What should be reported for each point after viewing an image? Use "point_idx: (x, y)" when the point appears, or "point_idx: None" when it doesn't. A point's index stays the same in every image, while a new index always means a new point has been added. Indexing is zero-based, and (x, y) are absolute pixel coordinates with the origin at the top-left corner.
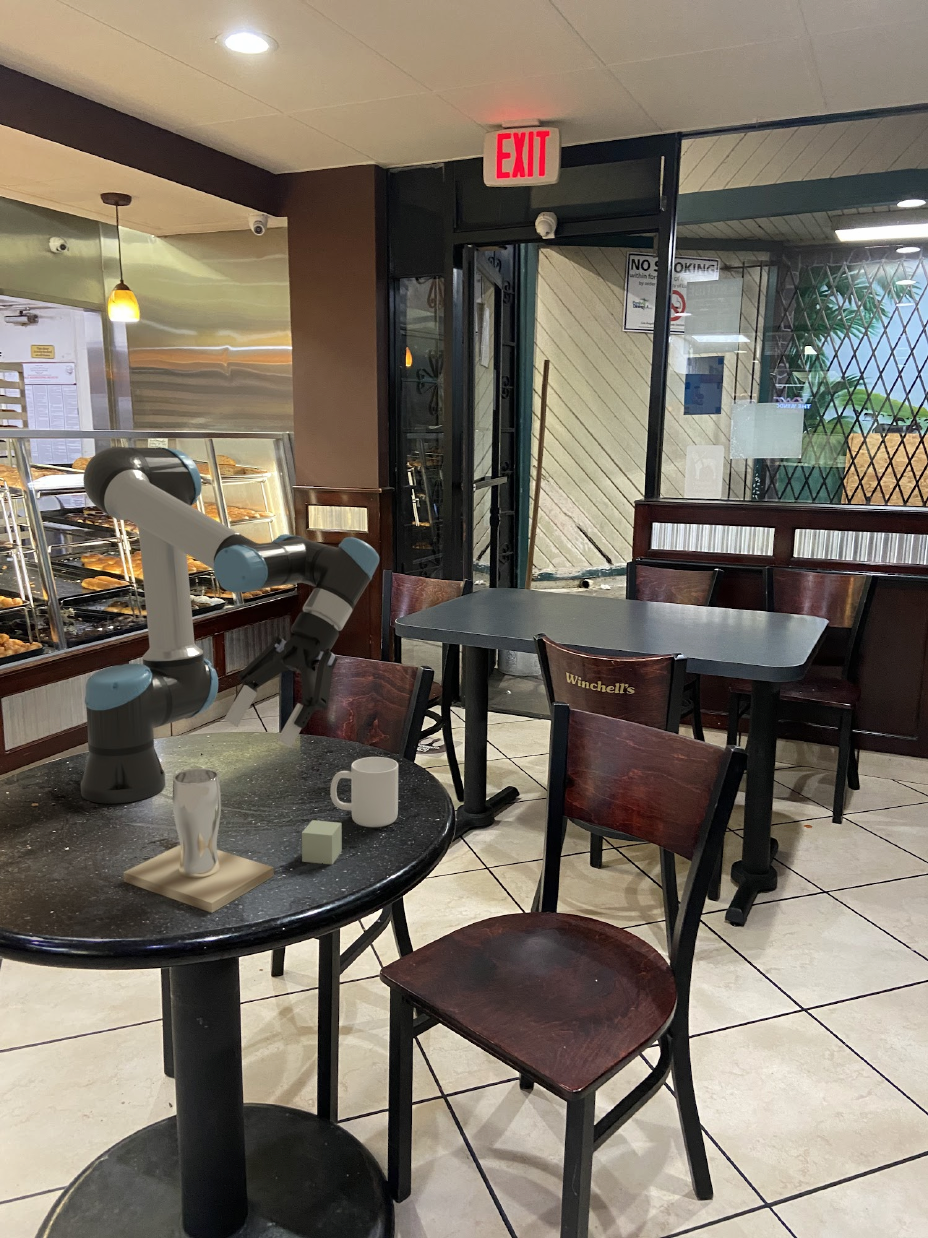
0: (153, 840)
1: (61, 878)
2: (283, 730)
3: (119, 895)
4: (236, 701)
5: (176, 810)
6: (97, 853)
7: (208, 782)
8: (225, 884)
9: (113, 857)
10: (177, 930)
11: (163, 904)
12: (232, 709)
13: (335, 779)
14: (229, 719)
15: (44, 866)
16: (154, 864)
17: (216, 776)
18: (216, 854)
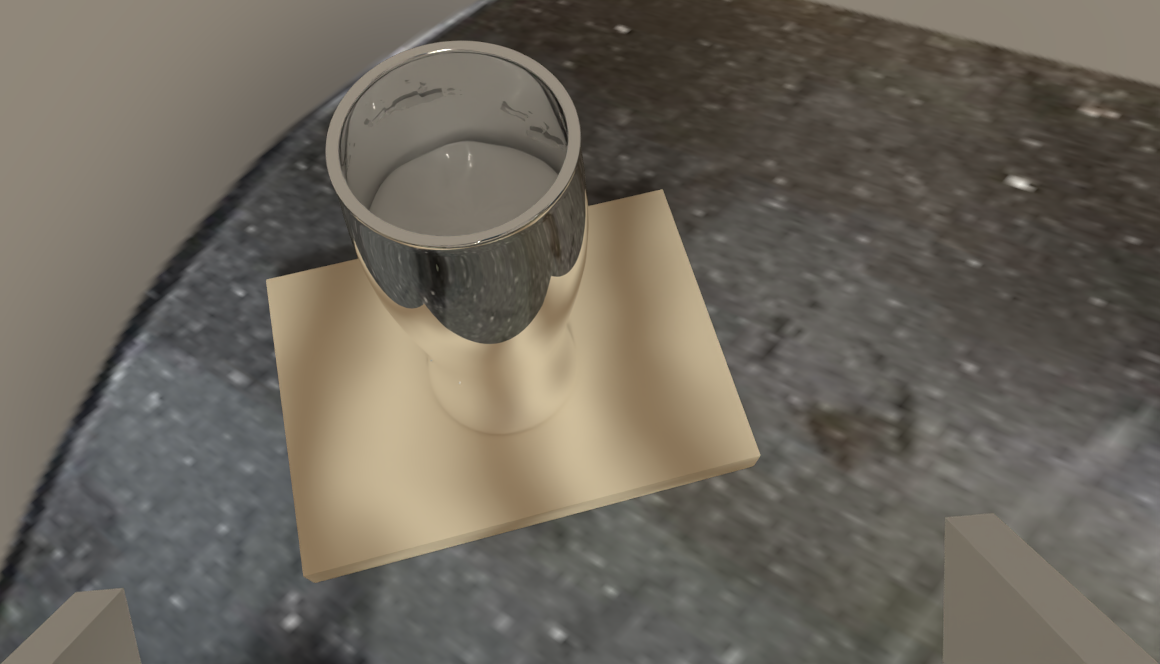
0: (920, 410)
1: (804, 102)
2: (43, 653)
3: (585, 167)
4: (1096, 645)
5: (473, 136)
6: (922, 231)
7: (326, 145)
8: (335, 371)
9: (858, 254)
10: (278, 189)
11: None
12: (1016, 579)
13: None
14: (952, 550)
15: (918, 97)
16: (648, 276)
17: (351, 202)
18: (443, 383)
